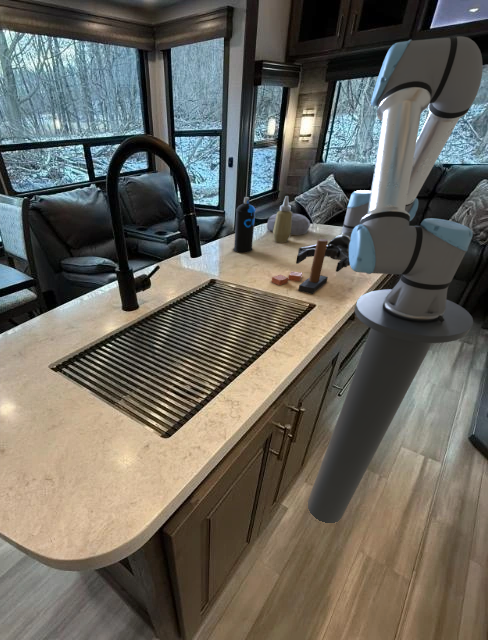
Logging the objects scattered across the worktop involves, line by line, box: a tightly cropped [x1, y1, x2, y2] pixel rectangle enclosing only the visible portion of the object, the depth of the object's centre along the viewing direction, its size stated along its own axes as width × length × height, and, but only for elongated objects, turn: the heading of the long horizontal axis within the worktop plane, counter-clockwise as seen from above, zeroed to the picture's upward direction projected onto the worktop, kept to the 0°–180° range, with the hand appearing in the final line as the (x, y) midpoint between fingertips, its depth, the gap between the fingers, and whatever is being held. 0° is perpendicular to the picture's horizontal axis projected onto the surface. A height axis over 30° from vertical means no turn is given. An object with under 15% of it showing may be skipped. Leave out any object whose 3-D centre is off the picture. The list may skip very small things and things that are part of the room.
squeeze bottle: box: [272, 195, 293, 244], centre depth 148 cm, size 8×8×18 cm
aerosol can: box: [233, 196, 257, 254], centre depth 140 cm, size 8×8×20 cm
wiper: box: [298, 238, 329, 295], centre depth 109 cm, size 5×12×15 cm, turn 141°
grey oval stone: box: [266, 212, 311, 236], centre depth 162 cm, size 15×8×20 cm
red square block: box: [271, 274, 289, 286], centre depth 117 cm, size 4×4×2 cm
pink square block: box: [287, 270, 303, 282], centre depth 119 cm, size 4×4×2 cm
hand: (317, 263), depth 109 cm, fingers open, 13 cm apart
